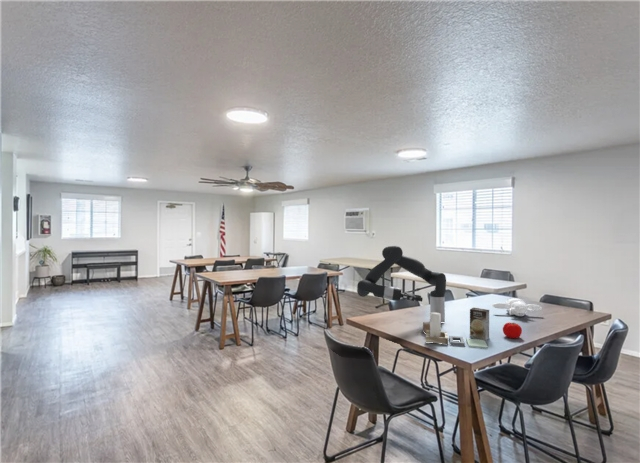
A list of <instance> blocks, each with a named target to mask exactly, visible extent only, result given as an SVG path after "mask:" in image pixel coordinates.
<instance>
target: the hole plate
mask: <svg viewBox="0 0 640 463" xmlns="http://www.w3.org/2000/svg"><path fill="white" fill-rule="evenodd" d="M449 339H450V340H449ZM448 340H449V344H451V345H450V346H454V345H458V346H457V347H465V344H466V343H465V340H464V337H463V336H457V335H456V336H455V335H449V338H448ZM453 340H460V342H459V341H453Z"/></svg>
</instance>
